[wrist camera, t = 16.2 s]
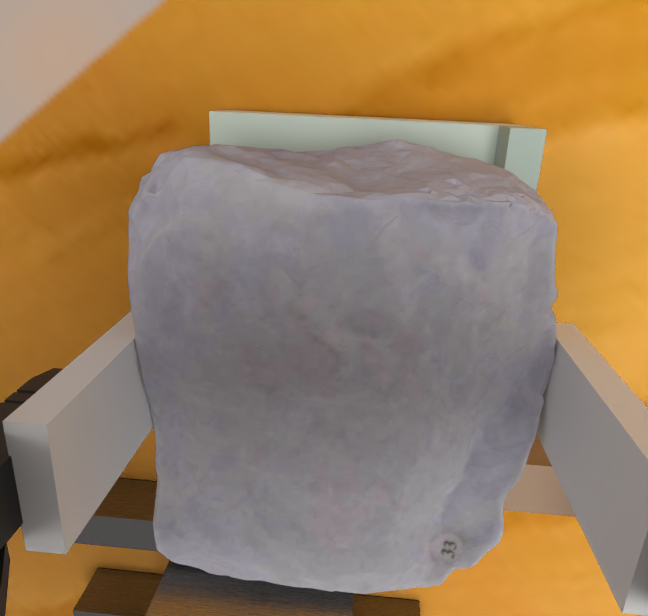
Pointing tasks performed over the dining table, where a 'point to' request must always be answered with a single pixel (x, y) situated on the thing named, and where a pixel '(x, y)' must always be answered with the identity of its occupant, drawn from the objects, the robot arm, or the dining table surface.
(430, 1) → the dining table surface
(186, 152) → the stone block
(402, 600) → the guide
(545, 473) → the brown piece
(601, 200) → the dining table surface
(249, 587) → the grey metal block
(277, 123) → the pale green ledge block
